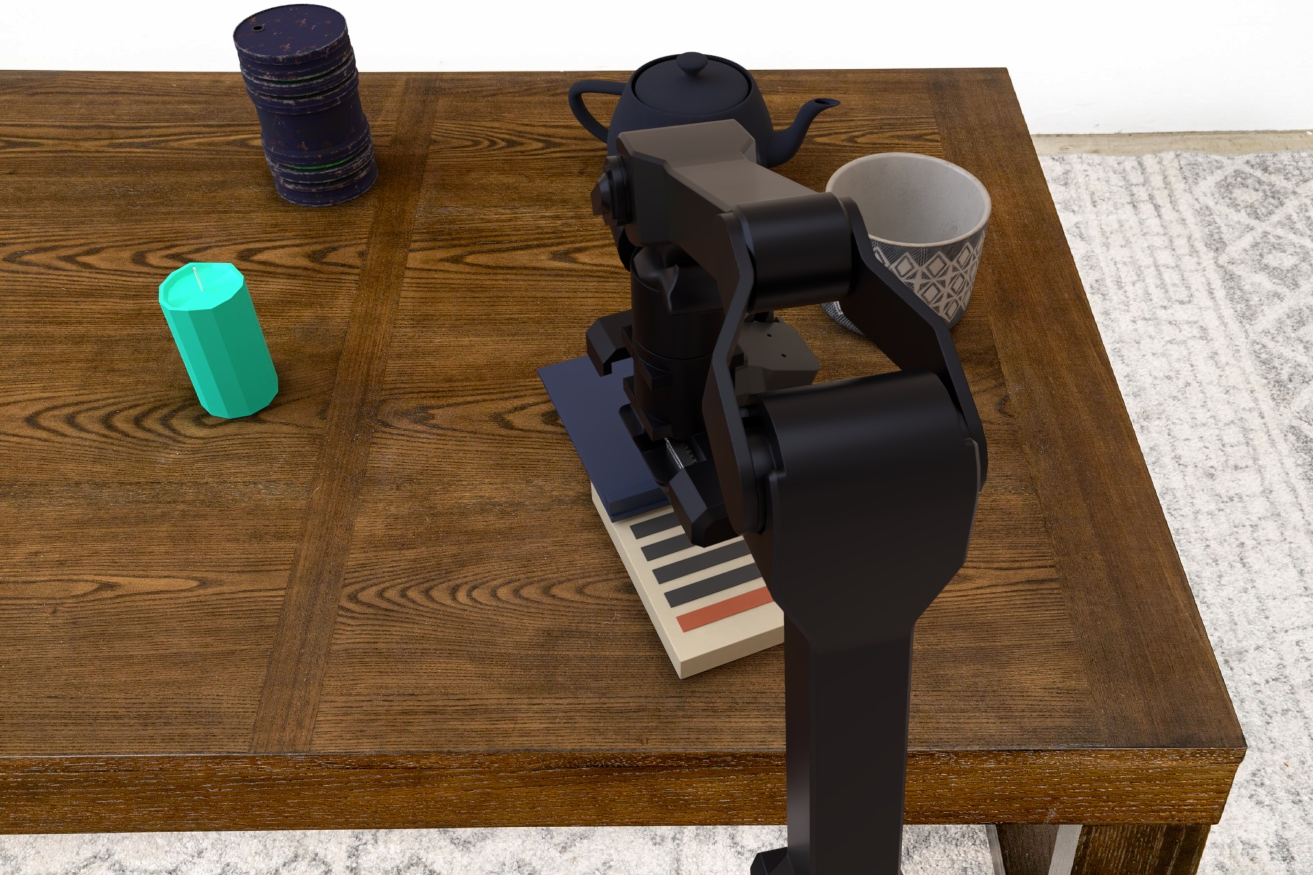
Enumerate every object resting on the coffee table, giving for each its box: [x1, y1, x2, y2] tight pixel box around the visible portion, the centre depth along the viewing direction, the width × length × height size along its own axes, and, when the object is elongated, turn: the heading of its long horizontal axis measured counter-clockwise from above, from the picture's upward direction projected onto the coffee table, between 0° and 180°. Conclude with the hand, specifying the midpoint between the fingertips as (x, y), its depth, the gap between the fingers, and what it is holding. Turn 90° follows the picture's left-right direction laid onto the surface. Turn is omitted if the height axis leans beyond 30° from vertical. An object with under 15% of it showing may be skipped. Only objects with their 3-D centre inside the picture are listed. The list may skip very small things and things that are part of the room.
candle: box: [158, 262, 279, 419], centre depth 86 cm, size 6×6×12 cm
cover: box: [536, 354, 671, 523], centre depth 83 cm, size 16×9×2 cm, turn 22°
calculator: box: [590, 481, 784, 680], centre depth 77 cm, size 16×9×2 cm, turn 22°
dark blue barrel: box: [232, 3, 379, 208], centre depth 105 cm, size 10×10×15 cm
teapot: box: [567, 51, 842, 170], centre depth 106 cm, size 25×16×12 cm, turn 75°
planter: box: [820, 151, 992, 337], centre depth 93 cm, size 13×13×10 cm
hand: (680, 503), depth 78 cm, fingers closed
